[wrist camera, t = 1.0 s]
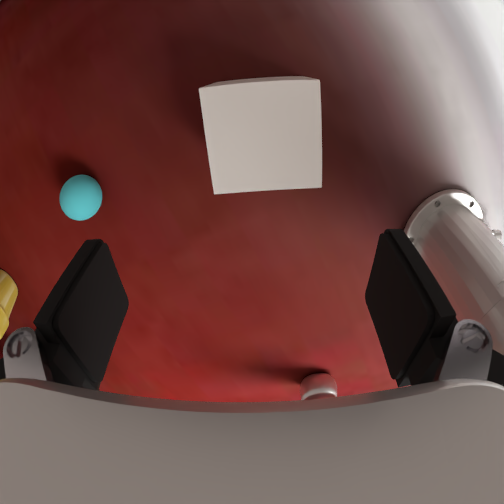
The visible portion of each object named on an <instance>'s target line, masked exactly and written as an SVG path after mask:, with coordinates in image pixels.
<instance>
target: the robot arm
mask: <svg viewBox="0 0 504 504" xmlns="http://www.w3.org/2000/svg"><path fill="white" fill-rule="evenodd" d="M501 237H502V234H501V231H500V230H492V231H491V230H490V229H489V228H488V227H487V225H486V224H485V223H484V222H483V215H482V211H481V208H480V205H479V204H478V203H477V201H476V200H475V199H474V198H473V197H472V196H471V195H469V194H468V193H466V192H465V191H462V190H458V189H448V190H443V191H440V192H438V193H436V194H434V195H432V196H430V197H429V198H427V199H426V200H425V201H424V202H423V203H421V204H420V205H419V206H418V207H417V209H416V210H415V211H414V212H413V214H412V215H411V217H410V219H409V220H408V222H407V224H406V227H405V229H404V231H403V230H402V229H386V230H385V232H384V233H382V234H380V236H379V240H378V245H377V249H376V254H375V258H374V262H373V266H372V270H371V274H370V278H369V282H368V285H367V289H366V293H365V300H366V304H367V306H368V309H369V312H370V315H371V318H372V320H373V323H374V326H375V329H376V332H377V335H378V338H379V341H380V344H381V347H382V350H383V353H384V356H385V359H386V362H387V366H388V369H389V372H390V375H391V378H392V379H396V382H397V385H398V387H402V388H397V389H391V390H385V391H378V392H371V393H365V394H358V395H350V396H342V397H333V398H323V399H312V400H299V401H281V402H198V401H181V400H168V399H157V398H147V397H138V396H130V395H123V394H116V393H109V392H103V391H97V390H96V389H97V386H98V383H99V382H101V381H102V380H103V377H104V374H105V371H106V368H107V365H108V362H109V359H110V356H111V353H112V350H113V347H114V344H115V342H116V339H117V336H118V333H119V331H120V328H121V325H122V322H123V320H124V317H125V315H126V312H127V309H128V305H129V302H128V297H127V295H126V292H125V290H124V288H123V285H122V282H121V280H120V277H119V275H118V272H117V269H116V267H115V264H114V261H113V259H112V256H111V253H110V250H109V247H108V245H107V244H106V243H104V242H103V241H102V240H101V239H93V240H86V241H85V242H84V243H83V245H82V246H81V248H80V249H79V250H78V252H77V253H76V255H75V256H74V258H73V259H72V260H71V262H70V263H69V265H68V266H67V268H66V269H65V271H64V272H63V274H62V275H61V277H60V278H59V280H58V282H57V283H56V285H55V286H54V288H53V289H52V291H51V293H50V294H49V296H48V298H47V299H46V301H45V303H44V304H43V306H42V308H41V309H40V311H39V313H38V315H37V316H36V318H35V320H34V322H33V323H34V324H35V326H36V327H37V328H36V330H35V331H34V330H32V329H31V328H28V327H23V328H20V329H17V330H16V331H14V332H13V333H12V334H11V335H10V336H9V337H8V339H7V340H6V342H5V345H4V348H3V358H1V359H0V504H504V246H503V245H502V243H501V242H500V241H499V240H500V239H501ZM408 385H411V386H408ZM82 386H83V387H84V388H82ZM403 386H408V387H403ZM86 388H87V389H86ZM91 389H93V390H91Z"/></svg>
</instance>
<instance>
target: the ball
mask: <svg viewBox="0 0 504 504" xmlns="http://www.w3.org/2000/svg"><path fill="white" fill-rule="evenodd" d="M101 202H102V191H101V188H100V185H99V184H98V182H97V181H96V180H95V179H94V178H92V177H90V176H88V175H76V176H73V177H72V178H70V179H69V180H68V181H67V182H66V183H65V184H64V185H63V187H62V189H61V192H60V205H61V208H62V210H63V212H64V213H65V214H66V215H67V216H68V217H70V218H71V219H74V220H86V219H88V218H90V217H92V216H93V215H94V214H95V213H96V212H97V211H98V209H99V207H100V205H101Z"/></svg>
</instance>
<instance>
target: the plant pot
mask: <svg viewBox="0 0 504 504" xmlns="http://www.w3.org/2000/svg"><path fill="white" fill-rule="evenodd" d="M17 295H18V289H17V286H16V284H15V282H14V281H13V279H12V278H11V277H10V276H9V275H8V274H7V273H6V272H5V271H3V270H1V269H0V339H1V338H2V336H3V335H4V333H5V331H6V329H7V328H8V325H9V320H8V318H9V316H10V313H11V310H12V308H13V305H14V302H15V300H16V298H17Z"/></svg>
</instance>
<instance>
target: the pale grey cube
mask: <svg viewBox="0 0 504 504" xmlns="http://www.w3.org/2000/svg"><path fill="white" fill-rule="evenodd" d="M199 95H200V102H201V109H202V117H203V124H204V131H205V138H206V144H207V151H208V158H209V164H210V171H211V177H212V184H213V190H214V194H225V193H237V192H250V191H265V190H282V189H302V188H322V121H321V92H320V80H318V79H314V78H309V77H304V76H283V77H264V78H250V79H239V80H230V81H221V82H216V83H213V84H210V85H207V86H204V87H201V88H199Z"/></svg>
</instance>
